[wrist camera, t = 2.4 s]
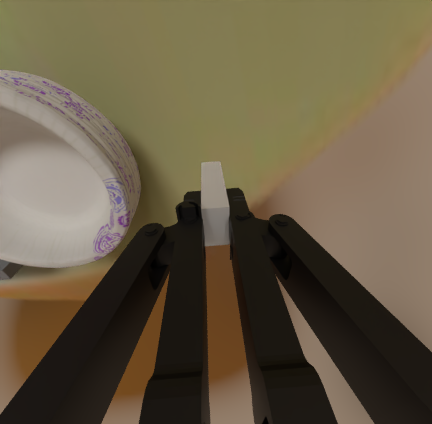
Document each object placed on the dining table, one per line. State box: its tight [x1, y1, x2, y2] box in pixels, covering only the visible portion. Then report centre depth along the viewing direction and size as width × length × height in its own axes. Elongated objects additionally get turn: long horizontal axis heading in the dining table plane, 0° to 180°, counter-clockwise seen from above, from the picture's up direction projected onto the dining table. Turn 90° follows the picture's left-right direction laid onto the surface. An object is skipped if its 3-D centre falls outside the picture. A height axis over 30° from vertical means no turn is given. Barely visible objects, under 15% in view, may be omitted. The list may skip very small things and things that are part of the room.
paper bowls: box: [0, 70, 141, 268], centre depth 17 cm, size 15×15×8 cm
